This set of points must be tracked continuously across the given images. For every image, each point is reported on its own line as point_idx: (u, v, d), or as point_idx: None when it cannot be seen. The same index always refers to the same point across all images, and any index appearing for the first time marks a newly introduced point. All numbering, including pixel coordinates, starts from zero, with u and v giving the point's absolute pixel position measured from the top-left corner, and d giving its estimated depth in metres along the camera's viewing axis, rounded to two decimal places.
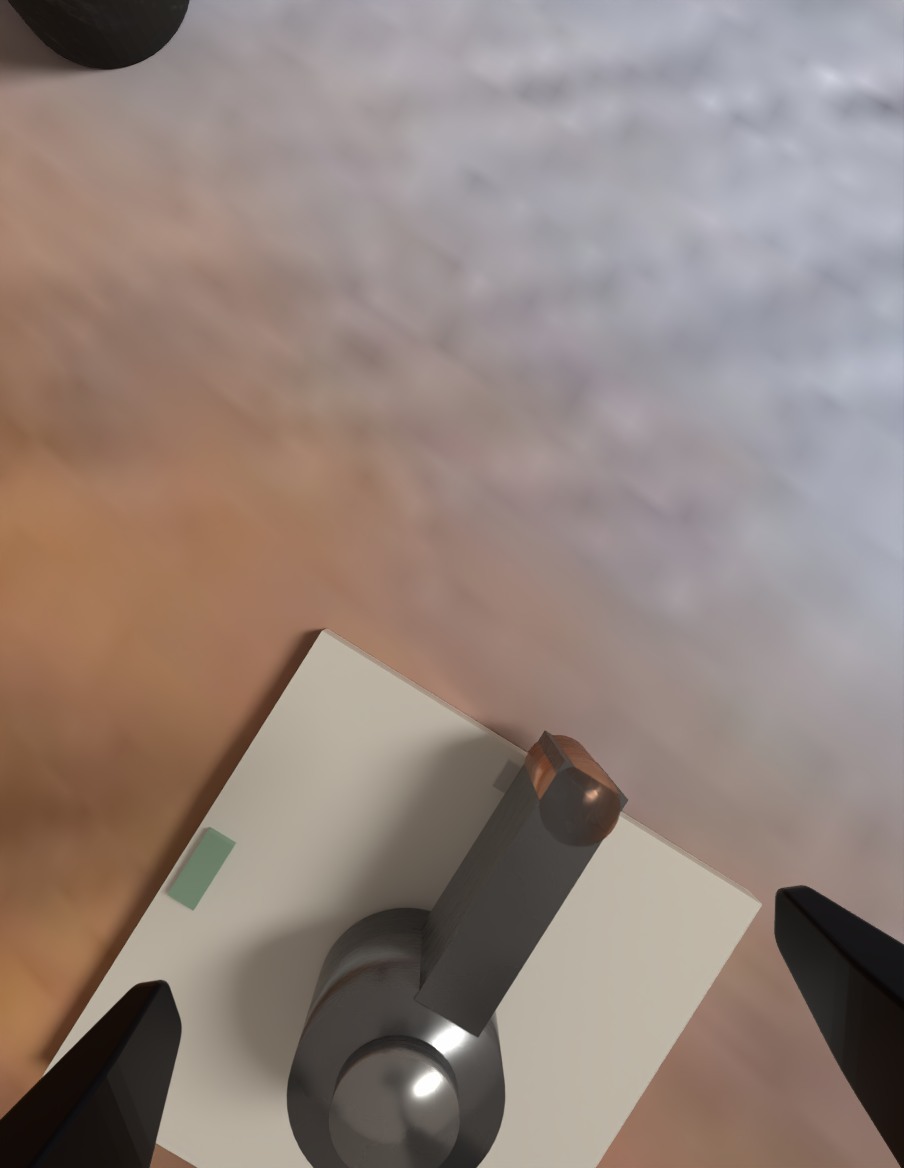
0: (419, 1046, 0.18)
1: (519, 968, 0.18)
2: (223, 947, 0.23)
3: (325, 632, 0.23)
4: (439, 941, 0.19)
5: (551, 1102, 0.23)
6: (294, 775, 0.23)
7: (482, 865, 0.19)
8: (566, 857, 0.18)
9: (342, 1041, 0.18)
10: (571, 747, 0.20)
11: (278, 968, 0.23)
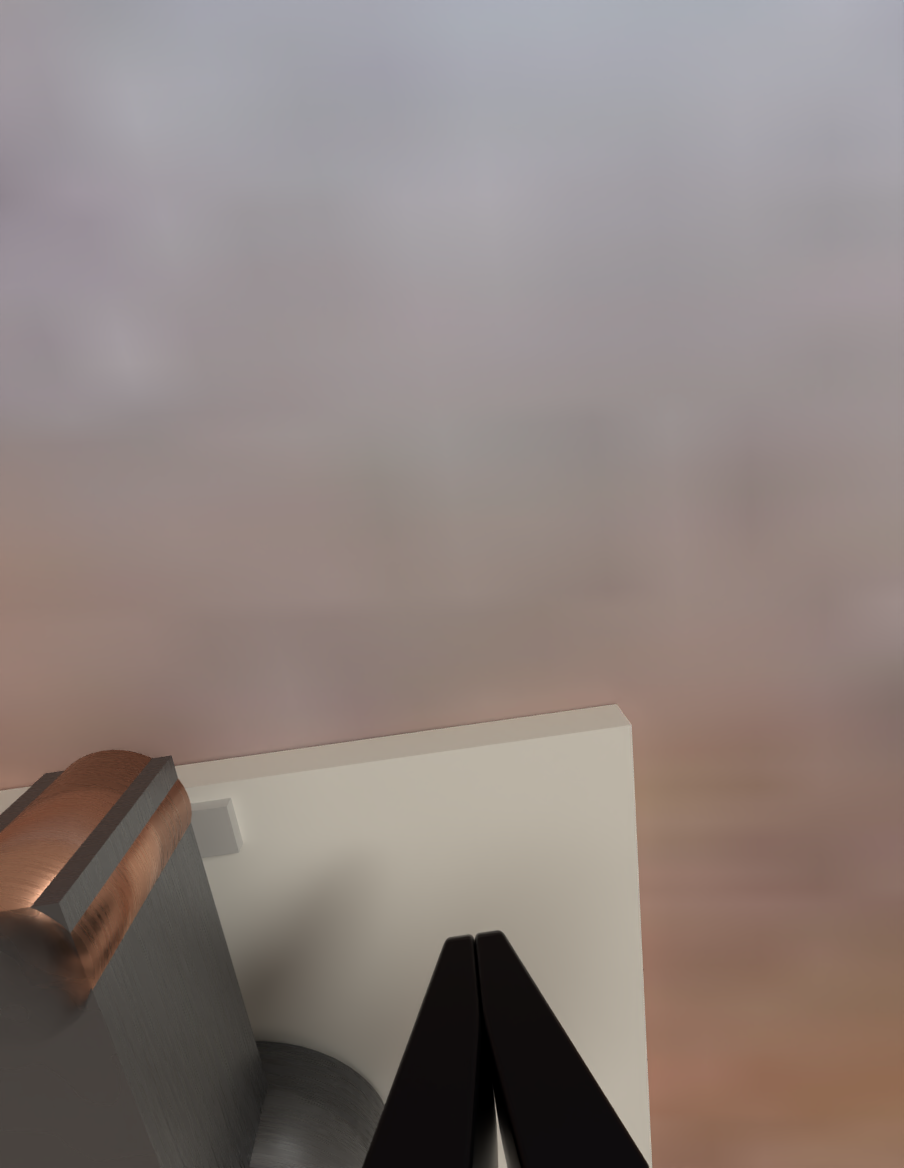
0: None
1: None
2: None
3: None
4: None
5: None
6: None
7: None
8: (64, 1057, 0.08)
9: None
10: (24, 811, 0.09)
11: None
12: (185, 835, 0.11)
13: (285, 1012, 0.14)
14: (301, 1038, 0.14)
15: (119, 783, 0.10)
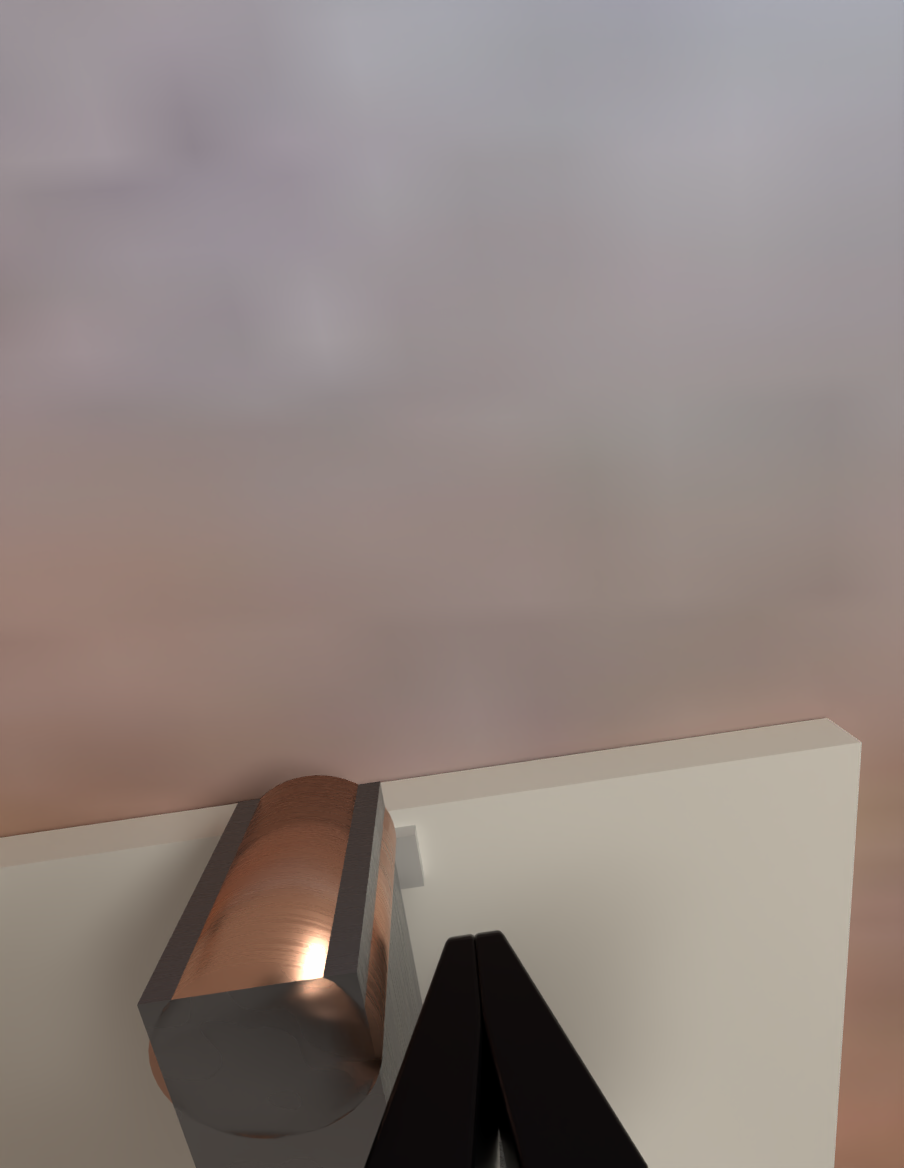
0: None
1: None
2: None
3: None
4: None
5: (717, 1160, 0.14)
6: (5, 1085, 0.12)
7: None
8: (336, 1150, 0.07)
9: None
10: (249, 850, 0.08)
11: None
12: (393, 871, 0.10)
13: None
14: None
15: (342, 815, 0.09)
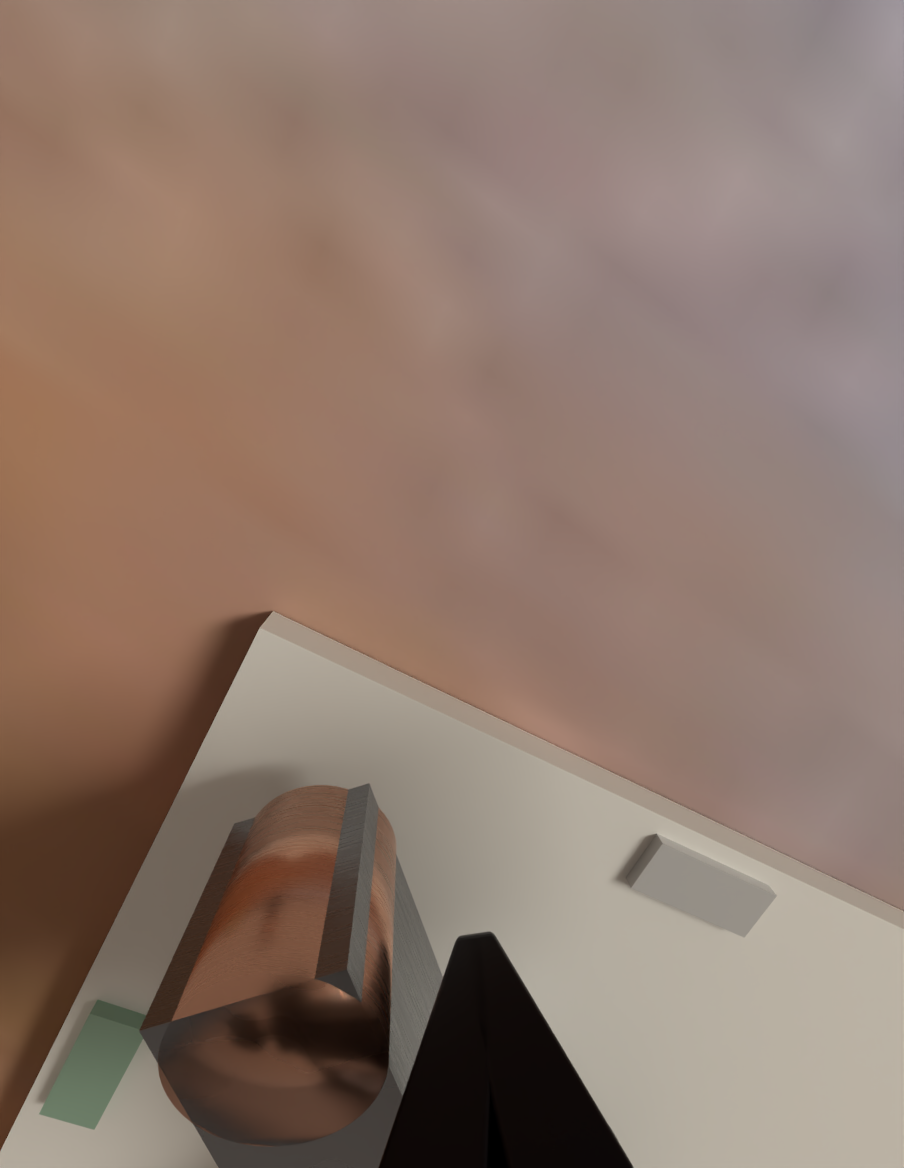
0: None
1: None
2: (163, 1161, 0.13)
3: (268, 629, 0.10)
4: None
5: None
6: None
7: None
8: (360, 1147, 0.07)
9: None
10: (242, 868, 0.08)
11: None
12: (396, 870, 0.10)
13: (611, 1084, 0.14)
14: None
15: (332, 821, 0.09)
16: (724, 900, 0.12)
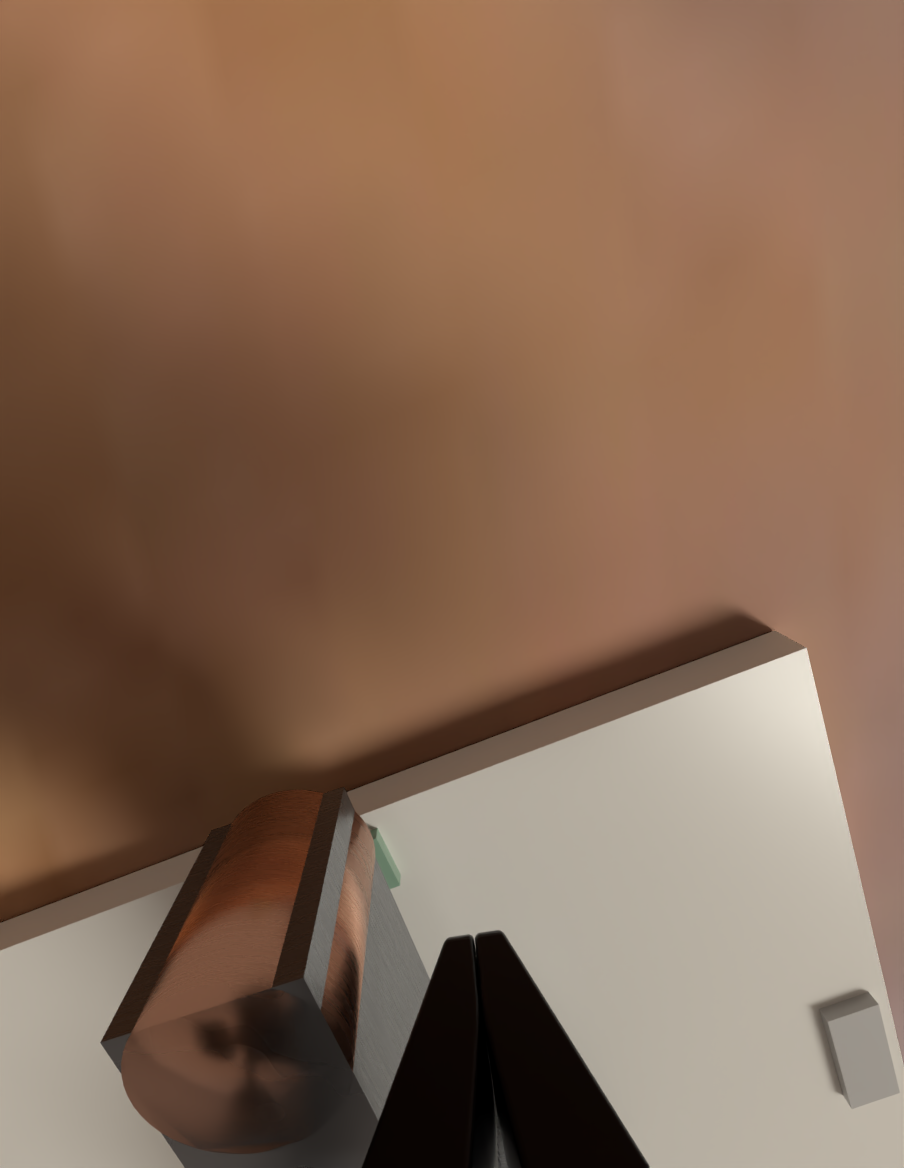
0: None
1: None
2: None
3: (804, 652, 0.11)
4: None
5: None
6: (569, 834, 0.12)
7: None
8: (330, 1154, 0.07)
9: None
10: (212, 875, 0.08)
11: None
12: (374, 872, 0.10)
13: (646, 1159, 0.14)
14: None
15: (303, 826, 0.09)
16: (868, 1072, 0.13)
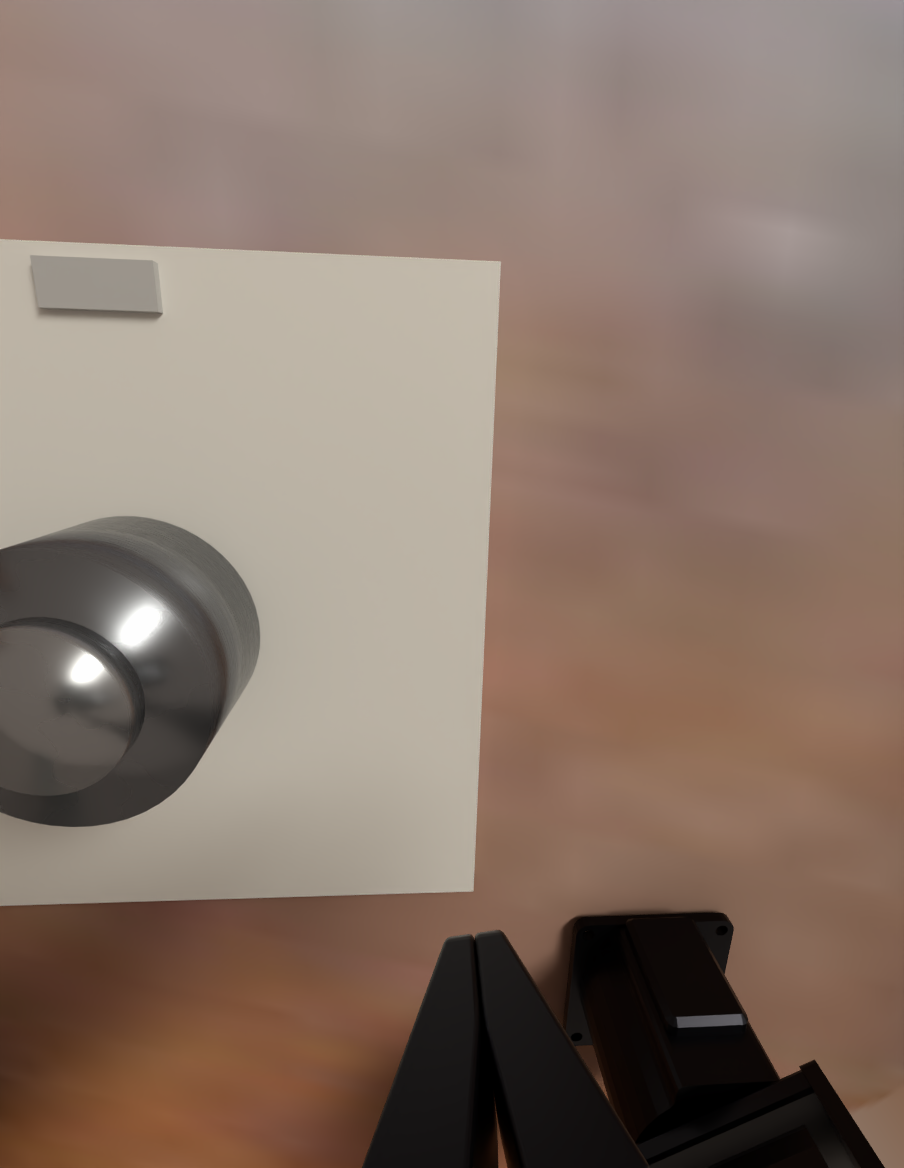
0: None
1: None
2: None
3: None
4: None
5: (390, 651, 0.18)
6: None
7: None
8: None
9: None
10: None
11: None
12: None
13: (180, 503, 0.17)
14: None
15: None
16: (115, 284, 0.15)
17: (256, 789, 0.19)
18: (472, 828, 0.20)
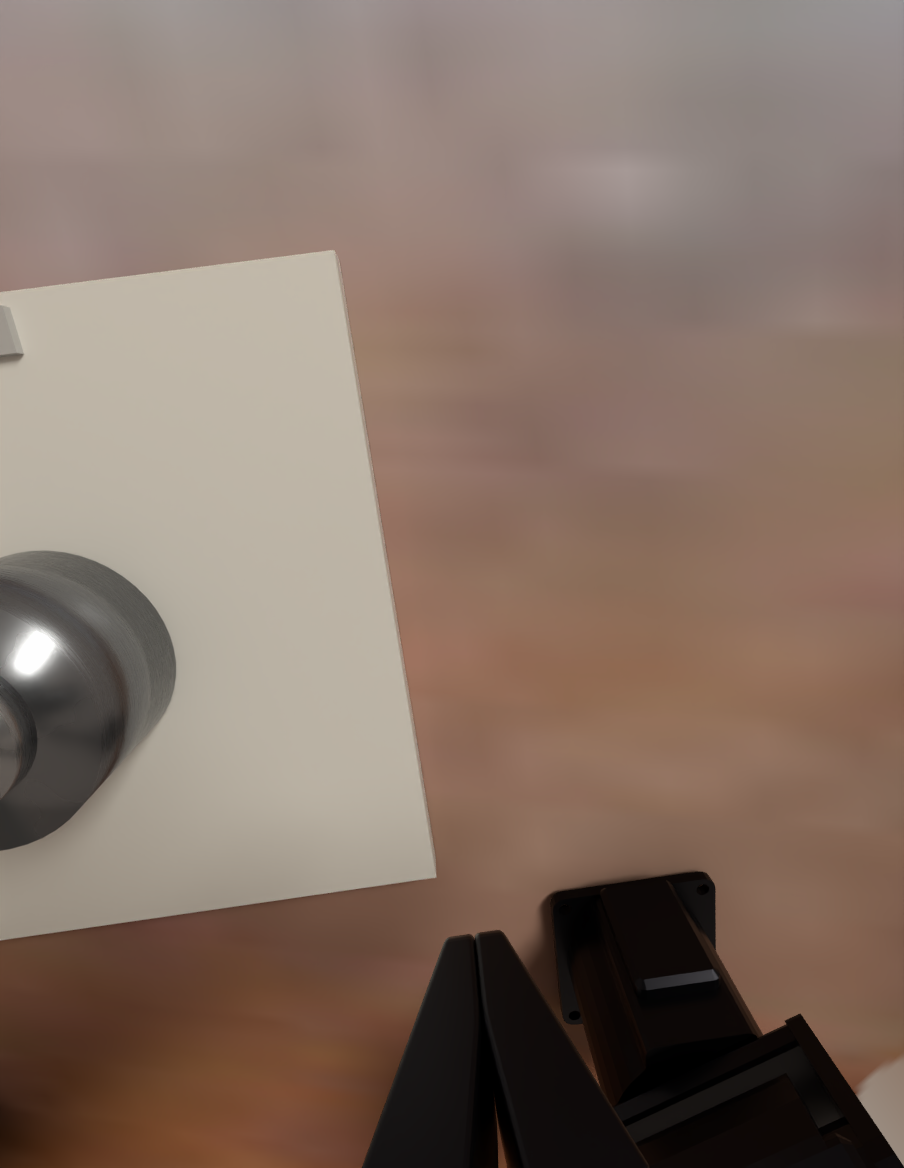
0: None
1: None
2: None
3: None
4: None
5: (305, 648, 0.19)
6: None
7: None
8: None
9: None
10: None
11: None
12: None
13: (76, 532, 0.17)
14: None
15: None
16: None
17: (202, 800, 0.20)
18: (422, 814, 0.20)
